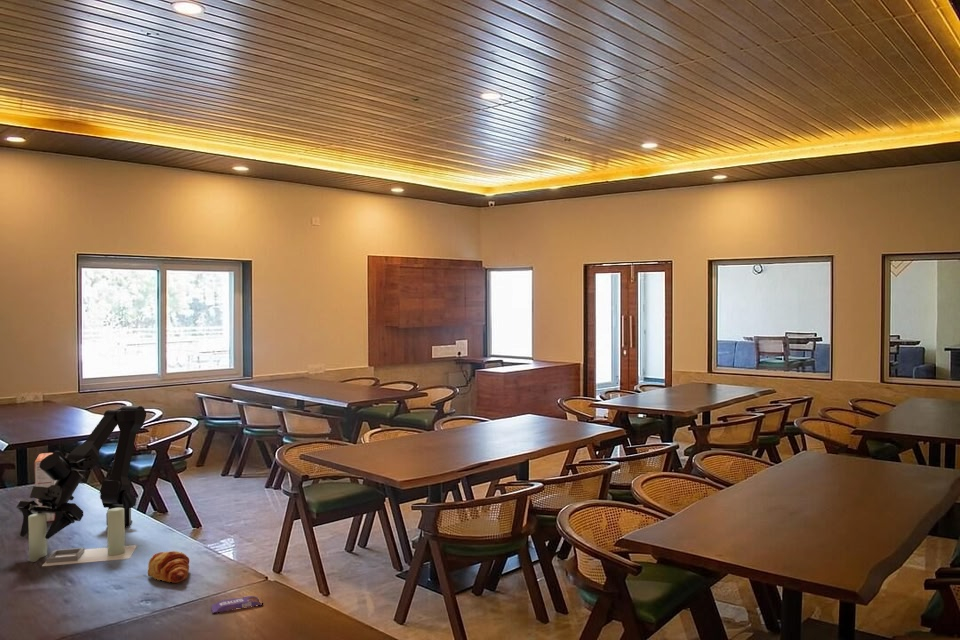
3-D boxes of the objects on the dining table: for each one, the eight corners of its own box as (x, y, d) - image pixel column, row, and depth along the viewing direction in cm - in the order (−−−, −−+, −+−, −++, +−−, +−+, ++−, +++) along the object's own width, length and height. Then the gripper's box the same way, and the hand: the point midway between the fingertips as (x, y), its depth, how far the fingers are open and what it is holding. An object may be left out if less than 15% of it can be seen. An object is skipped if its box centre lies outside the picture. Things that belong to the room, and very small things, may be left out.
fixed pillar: (126, 549, 214) (125, 507, 214) (123, 554, 210) (122, 511, 210) (109, 551, 213) (108, 508, 213) (106, 556, 209) (105, 512, 208)
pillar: (49, 555, 212) (48, 512, 212) (44, 560, 208) (43, 516, 208) (31, 557, 211) (31, 513, 211) (26, 562, 207) (26, 518, 206)
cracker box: (39, 513, 256) (38, 453, 256) (59, 510, 259) (58, 451, 259) (34, 523, 244) (33, 460, 243) (55, 521, 246) (54, 459, 246)
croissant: (145, 579, 203) (131, 557, 201) (178, 555, 209) (164, 533, 206) (172, 600, 187) (156, 576, 185) (206, 573, 193) (192, 550, 190)
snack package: (212, 608, 171) (210, 601, 176) (212, 616, 171) (210, 609, 176) (263, 600, 176) (260, 593, 181) (263, 608, 176) (260, 601, 181)
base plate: (137, 548, 218) (137, 541, 218) (129, 561, 207) (129, 554, 207) (54, 555, 212) (53, 547, 212) (41, 569, 201) (41, 561, 201)
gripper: (21, 472, 215) (-12, 520, 204) (75, 475, 211) (45, 525, 200) (43, 492, 223) (13, 540, 212) (96, 496, 218) (67, 544, 208)
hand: (33, 537), depth 208 cm, fingers open, 8 cm apart
